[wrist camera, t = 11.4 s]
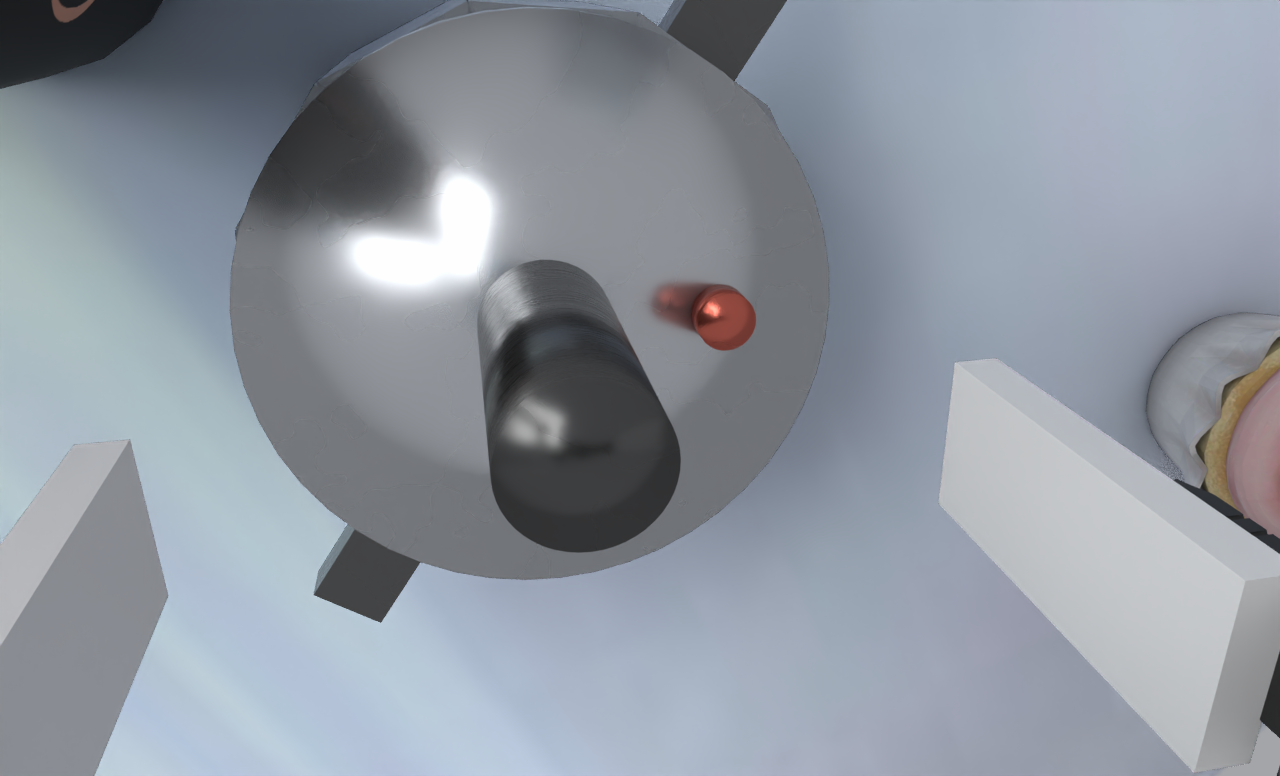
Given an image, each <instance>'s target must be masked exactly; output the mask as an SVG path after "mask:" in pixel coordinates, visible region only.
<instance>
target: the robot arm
mask: <svg viewBox="0 0 1280 776" xmlns="http://www.w3.org/2000/svg"><path fill="white" fill-rule="evenodd" d="M938 504H939V505H940V506H941V507H942V508H943V509H944V510H945V511H946V512H947V513H948V514H949V515H950V516H951V517H952V518H953V519H954V520H955V521H956V522H957V524H958V525H959V526H960V527H961V528H962V529H963V530H964V531H965V532H966V533H967V534H968V535H969V536H970V537H971V538H972V539H973V540H974V541H975V543H976V544H977V545H978V546H979V547H980V548H981V549H982V550H983V551H984V552H985V553H986V554H987V555H988V556H989V557H990V558H991V559H992V560H993V562H994V563H995V564H996V565H997V566H998V567H999V568H1000V569H1001V570H1002V571H1003V572H1004V573H1005V574H1006V575H1007V576H1008V577H1009V578H1010V579H1011V581H1012V582H1013V583H1014V584H1015V585H1016V586H1017V587H1018V588H1019V589H1020V590H1021V591H1022V592H1023V593H1024V594H1025V595H1026V596H1027V597H1028V598H1029V599H1030V601H1031V602H1032V603H1033V604H1034V605H1035V606H1036V607H1037V608H1038V609H1039V610H1040V611H1041V612H1042V613H1043V614H1044V615H1045V616H1046V617H1047V618H1048V620H1049V621H1050V622H1051V623H1052V624H1053V625H1054V626H1055V627H1056V628H1057V629H1058V630H1059V631H1060V632H1061V633H1062V634H1063V635H1064V636H1065V637H1066V639H1067V640H1068V641H1069V642H1070V643H1071V644H1072V645H1073V646H1074V647H1075V648H1076V649H1077V650H1078V651H1079V652H1080V653H1081V654H1082V655H1083V656H1084V657H1085V659H1086V660H1087V661H1088V662H1089V663H1090V664H1091V665H1092V666H1093V667H1094V668H1095V669H1096V670H1097V671H1098V672H1099V673H1100V674H1101V675H1102V676H1103V678H1104V679H1105V680H1106V681H1107V682H1108V683H1109V684H1110V685H1111V686H1112V687H1113V688H1114V689H1115V690H1116V691H1117V692H1118V693H1119V694H1120V695H1121V697H1122V698H1123V699H1124V700H1125V701H1126V702H1127V703H1128V704H1129V705H1130V706H1131V707H1132V708H1133V709H1134V710H1135V711H1136V712H1137V713H1138V714H1139V716H1140V717H1141V718H1142V719H1143V720H1144V721H1145V722H1146V723H1147V724H1148V725H1149V726H1150V727H1151V728H1152V729H1153V730H1154V731H1155V732H1156V733H1157V734H1158V736H1159V737H1160V738H1161V739H1162V740H1163V741H1164V742H1165V743H1166V744H1167V745H1168V746H1169V747H1170V748H1171V749H1172V750H1173V751H1174V752H1175V753H1176V755H1177V756H1178V757H1179V758H1180V759H1181V760H1182V761H1183V762H1184V763H1185V764H1186V765H1187V766H1188V767H1189V768H1190V769H1191V770H1192V771H1193V772H1194V773H1198V772H1204V771H1209V770H1215V769H1221V768H1226V767H1232V766H1237V765H1243V764H1249V763H1250V761H1251V758H1252V754H1253V751H1254V747H1255V744H1256V741H1257V737H1258V734H1259V730H1260V727H1261V724H1262V722H1263V723H1264V724H1265V725H1266V726H1267V727H1268V728H1269V729H1270V730H1271V731H1273V732H1274V733H1275V734H1276V735H1277V736H1278V737H1279V738H1280V538H1278V537H1277V536H1275V535H1274V534H1269V535H1268V534H1267V530H1266V529H1265V528H1263V527H1262V526H1260V525H1259V524H1257V523H1256V522H1254V521H1253V520H1251V519H1250V518H1244V516H1243V514H1242V513H1241V512H1239V511H1238V510H1236V509H1235V508H1234V507H1232V506H1231V505H1229V504H1228V503H1226V502H1225V501H1223V500H1222V499H1220V498H1219V497H1217V496H1216V495H1214V494H1212V493H1209V492H1207V491H1204V490H1202V489H1199V488H1197V487H1194V486H1192V485H1190V484H1187V483H1185V482H1182V481H1180V480H1177V479H1175V480H1172V479H1171V478H1169V477H1168V476H1166V475H1165V474H1163V473H1162V472H1160V471H1159V470H1157V469H1156V468H1155V467H1153V466H1152V465H1150V464H1149V463H1147V462H1146V461H1144V460H1143V459H1142V458H1140V457H1139V456H1137V455H1136V454H1134V453H1133V452H1131V451H1130V450H1129V449H1127V448H1126V447H1124V446H1123V445H1121V444H1120V443H1118V442H1117V441H1116V440H1114V439H1113V438H1111V437H1110V436H1108V435H1107V434H1105V433H1104V432H1103V431H1101V430H1100V429H1098V428H1097V427H1095V426H1094V425H1092V424H1091V423H1090V422H1088V421H1087V420H1085V419H1084V418H1082V417H1081V416H1079V415H1078V414H1077V413H1075V412H1074V411H1072V410H1071V409H1069V408H1068V407H1066V406H1065V405H1064V404H1062V403H1061V402H1059V401H1058V400H1056V399H1055V398H1053V397H1052V396H1050V395H1049V394H1048V393H1046V392H1045V391H1043V390H1042V389H1040V388H1039V387H1037V386H1036V385H1035V384H1033V383H1032V382H1030V381H1029V380H1027V379H1026V378H1024V377H1023V376H1022V375H1020V374H1019V373H1017V372H1016V371H1014V370H1013V369H1011V368H1010V367H1009V366H1007V365H1006V364H1004V363H1003V362H1001V361H1000V360H998V359H997V358H993V359H982V360H971V361H961V362H955V367H954V375H953V384H952V392H951V401H950V410H949V418H948V427H947V435H946V444H945V452H944V461H943V469H942V478H941V486H940V495H939V503H938ZM167 598H168V592H167V588H166V584H165V580H164V576H163V572H162V568H161V564H160V560H159V556H158V552H157V548H156V544H155V539H154V535H153V531H152V527H151V523H150V519H149V515H148V511H147V507H146V503H145V499H144V495H143V491H142V486H141V482H140V478H139V474H138V470H137V466H136V462H135V458H134V454H133V450H132V446H131V442H130V440H120V441H109V442H98V443H88V444H77V445H73V447H72V448H71V449H70V451H69V452H68V454H67V455H66V456H65V458H64V459H63V460H62V462H61V463H60V464H59V466H58V467H57V468H56V470H55V471H54V473H53V474H52V475H51V477H50V478H49V479H48V481H47V482H46V483H45V485H44V486H43V487H42V489H41V490H40V492H39V493H38V494H37V496H36V497H35V498H34V500H33V501H32V502H31V504H30V505H29V506H28V508H27V509H26V510H25V512H24V513H23V515H22V516H21V517H20V519H19V520H18V521H17V523H16V524H15V525H14V527H13V528H12V529H11V531H10V532H9V534H8V535H7V536H6V538H5V539H4V540H3V542H2V543H1V544H0V776H94V775H95V773H96V770H97V768H98V765H99V763H100V761H101V758H102V756H103V753H104V751H105V748H106V746H107V744H108V741H109V739H110V736H111V734H112V731H113V729H114V727H115V724H116V722H117V719H118V717H119V714H120V712H121V710H122V707H123V705H124V702H125V700H126V697H127V695H128V693H129V690H130V688H131V685H132V683H133V680H134V678H135V676H136V673H137V671H138V668H139V666H140V663H141V661H142V659H143V656H144V654H145V651H146V649H147V646H148V644H149V641H150V639H151V637H152V634H153V632H154V629H155V627H156V624H157V622H158V620H159V617H160V615H161V612H162V610H163V607H164V605H165V603H166V600H167ZM1277 776H1280V767H1279V770H1278V773H1277Z"/></svg>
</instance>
